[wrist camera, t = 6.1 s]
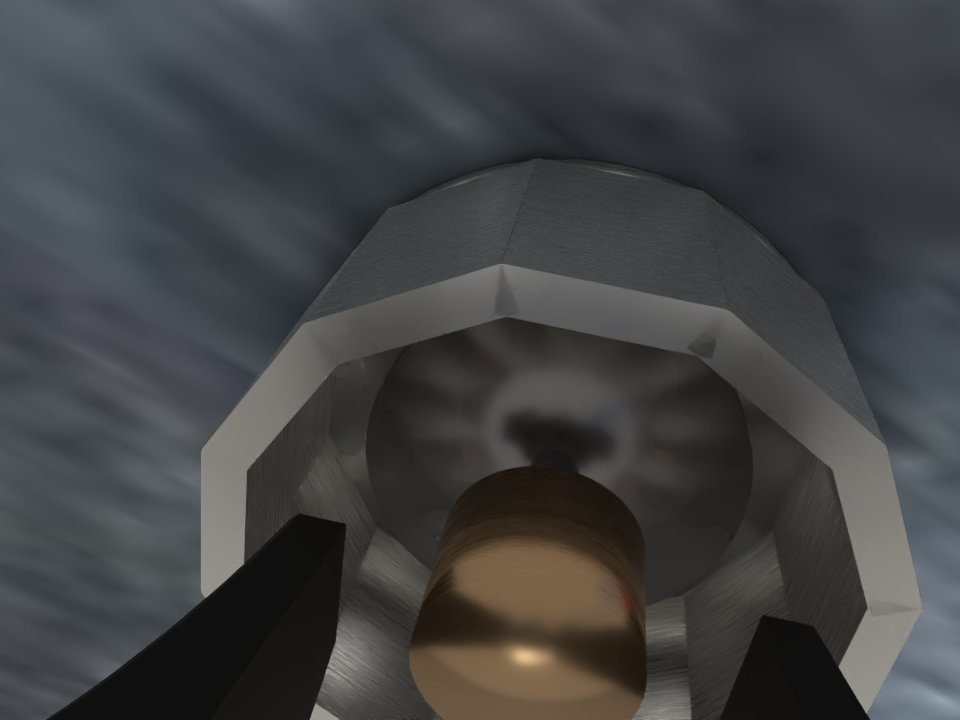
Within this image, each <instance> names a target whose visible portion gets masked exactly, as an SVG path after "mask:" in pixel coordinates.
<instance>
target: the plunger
mask: <svg viewBox="0 0 960 720" xmlns="http://www.w3.org/2000/svg"><path fill="white" fill-rule="evenodd" d="M366 461H367V470H368V476H369V480H370V483H371V487H372V491H373V494H374V496H375V499H376V501H377V503H378V506H379V508H380V510H381V513H382V515H383V516H384V518H385V520H386V521H387V523H388V525H389V526H390V528H391V530H392V531H393V532H394V534H395V535H396V536H397V538H398V539H399V540H400V541H401V543H402V544H403V545H404V547H405V548H406V549H407V550H408V551H409V552H410V553H411V554H412V555H413V556H414V557H415V558H416V559H417V560H418V561H419V562H420V563H421V564H422V565H424V566H425V567H426V568H427V569H429V570H430V571H431V573H430V576H429V580H428V583H427V587H426V590H425V593H424V597H423V600H422V604H421V607H420V610H419V614H418V617H417V621H416V624H415V627H414V631H413V634H412V638H411V642H410V648H409V661H410V669H411V672H412V676H413V679H414V681H415V683H416V685H417V688H418V690H419V691H420V693H421V694H422V696H423V697H424V699H425V700H426V701H427V703H428V704H429V705H430V706H431V707H432V709H433V710H434V711H435V712H437V713H438V714H439V715H440V716H441V717H442V718H443V719H444V720H631V719H632V718H633V717H634V715H635V714H636V712H637V711H638V709H639V707H640V705H641V703H642V701H643V699H644V695H645V691H646V683H647V641H646V606H649V605H652V604H655V603H657V602H659V601H661V600H663V599H665V598H667V597H670V596H672V595H674V594H675V593H677V592H679V591H680V590H682V589H683V588H685V587H686V586H688V585H690V584H691V583H693V582H694V581H695V580H696V579H698V578H699V577H700V576H701V575H702V574H704V573H705V572H706V571H707V570H708V569H710V568H711V566H712V565H713V564H714V563H715V562H716V561H717V560H718V559H719V558H720V557H721V555H722V554H723V553H724V552H725V550H726V549H727V548H728V546H729V545H730V543H731V542H732V540H733V539H734V537H735V536H736V534H737V532H738V530H739V528H740V525H741V523H742V521H743V519H744V517H745V514H746V511H747V507H748V504H749V500H750V497H751V490H752V482H753V453H752V447H751V442H750V437H749V432H748V427H747V422H746V418H745V413H744V409H743V406H742V403H741V401H740V398H739V395H738V393H737V390H736V388H735V387H733V386H732V385H731V384H730V383H729V382H727V381H726V380H725V379H724V378H723V377H721V376H720V375H719V374H718V373H717V372H716V371H714V370H713V369H712V368H711V367H710V366H708V365H707V364H706V363H705V362H704V361H702V360H701V359H700V358H699V357H698V356H694V355H689V354H685V353H680V352H675V351H670V350H665V349H660V348H656V347H651V346H646V345H641V344H636V343H631V342H627V341H622V340H617V339H612V338H607V337H603V336H598V335H593V334H588V333H583V332H578V331H574V330H569V329H564V328H559V327H554V326H549V325H545V324H540V323H535V322H530V321H525V320H521V319H516V318H511V317H503V318H500V319H496V320H493V321H489V322H486V323H482V324H479V325H475V326H472V327H468V328H465V329H461V330H458V331H454V332H451V333H447V334H444V335H440V336H437V337H433V338H430V339H426V340H423V341H419V342H416V343H412V344H409V345H405V346H404V348H403V349H402V350H401V352H400V353H399V354H398V355H397V357H396V359H395V361H394V362H393V364H392V366H391V368H390V370H389V371H388V373H387V375H386V377H385V379H384V381H383V383H382V385H381V387H380V389H379V391H378V393H377V396H376V399H375V401H374V404H373V407H372V410H371V413H370V417H369V422H368V427H367V433H366Z"/></svg>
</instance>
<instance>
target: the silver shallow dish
mask: <svg viewBox="0 0 960 720" xmlns="http://www.w3.org/2000/svg"><path fill="white" fill-rule="evenodd" d="M503 317H511V318H516V319H521V320H525V321H530V322H535V323H540V324H545V325H549V326H554V327H559V328H564V329H569V330H574V331H578V332H583V333H588V334H593V335H598V336H603V337H607V338H612V339H617V340H622V341H627V342H631V343H636V344H641V345H646V346H651V347H656V348H660V349H665V350H670V351H675V352H680V353H685V354H689V355H694V356H698V357H699V358H700V359H701V360H702V361H704V362H705V363H706V364H707V365H708V366H710V367H711V368H712V369H713V370H714V371H716V372H717V373H718V374H719V375H720V376H721V377H723V378H724V379H725V380H726V381H727V382H729V383H730V384H731V385H732V386H733V387H735V388H736V390H737V393H738V395H739V398H740V401H741V403H742V406H743V409H744V413H745V418H746V422H747V427H748V432H749V437H750V442H751V447H752V453H753V482H752V490H751V497H750V500H749V504H748V507H747V511H746V514H745V517H744V519H743V521H742V523H741V525H740V528H739V530H738V532H737V534H736V536H735V537H734V539H733V540H732V542H731V543H730V545H729V546H728V548H727V549H726V550H725V552H724V553H723V554H722V555H721V557H720V558H719V559H718V560H717V561H716V562H715V563H714V564H713V565H712V566H711V568H710V569H708V570H707V571H706V572H705V573H704V574H702V575H701V576H700V577H699V578H698V579H696V580H695V581H694V582H693V583H691V584H690V585H688V586H686V587H685V588H683V589H682V590H680V591H679V592H677V593H675V594H674V595H672V596H670V597H667V598H665V599H663V600H661V601H659V602H657V603H655V604H652V605H649V606H646V641H647V683H646V691H645V695H644V699H643V701H642V703H641V705H640V707H639V709H638V711H637V712H636V714H635V715H634V717H633V718H632V719H631V720H720V717H721V715H722V712H723V710H724V707H725V705H726V702H727V700H728V697H729V695H730V693H731V690H732V688H733V685H734V683H735V680H736V678H737V675H738V673H739V671H740V668H741V666H742V663H743V661H744V658H745V656H746V653H747V651H748V649H749V646H750V644H751V641H752V639H753V636H754V634H755V631H756V629H757V626H758V624H759V622H760V619H761V617H762V615H766V616H771V617H775V618H780V619H784V620H789V621H793V622H798V623H803V624H807V625H812V626H814V628H815V629H816V631H817V632H818V634H819V636H820V637H821V639H822V640H823V642H824V644H825V645H826V647H827V649H828V650H829V652H830V654H831V655H832V657H833V659H834V660H835V662H836V664H837V665H838V667H839V669H840V670H841V672H842V674H843V675H844V677H845V679H846V680H847V682H848V684H849V685H850V687H851V689H852V690H853V692H854V694H855V695H856V697H857V699H858V700H859V702H860V704H861V705H862V707H863V709H864V710H865V712H866V713H867V712H868V711H869V709H870V707H871V705H872V703H873V701H874V699H875V698H876V696H877V694H878V692H879V690H880V688H881V686H882V685H883V683H884V681H885V679H886V677H887V675H888V673H889V672H890V670H891V668H892V666H893V664H894V662H895V660H896V659H897V657H898V655H899V653H900V651H901V649H902V647H903V646H904V644H905V642H906V640H907V638H908V636H909V634H910V633H911V631H912V629H913V627H914V625H915V623H916V621H917V620H918V618H919V616H920V614H921V612H922V610H923V607H922V603H921V598H920V594H919V589H918V585H917V580H916V576H915V571H914V567H913V562H912V558H911V553H910V549H909V544H908V540H907V535H906V531H905V527H904V522H903V518H902V513H901V509H900V504H899V500H898V495H897V491H896V486H895V482H894V477H893V473H892V468H891V464H890V460H889V455H888V451H887V446H886V444H885V442H884V439H883V437H882V435H881V432H880V430H879V428H878V425H877V423H876V421H875V418H874V416H873V414H872V411H871V409H870V407H869V404H868V402H867V400H866V397H865V395H864V393H863V390H862V388H861V386H860V383H859V381H858V379H857V376H856V374H855V372H854V369H853V367H852V365H851V362H850V360H849V358H848V355H847V353H846V351H845V348H844V346H843V344H842V341H841V339H840V337H839V334H838V332H837V330H836V327H835V325H834V323H833V320H832V318H831V316H830V313H829V311H828V309H827V306H826V304H825V302H824V299H823V297H822V295H820V294H819V293H818V292H817V291H816V290H815V289H814V288H813V287H811V286H810V285H809V284H808V283H807V282H806V281H805V280H804V279H802V278H801V277H800V276H799V275H798V274H797V273H796V272H795V271H794V269H793V268H792V267H791V265H790V264H789V263H788V261H787V260H786V258H785V257H784V256H783V255H782V254H781V253H780V252H779V251H778V250H777V249H776V248H775V247H774V246H773V245H772V244H771V243H770V242H769V241H768V240H767V239H766V238H765V237H764V236H763V235H762V234H761V233H760V232H759V231H758V230H756V229H755V228H754V227H753V226H751V225H750V224H749V223H747V222H746V221H745V220H744V219H742V218H741V217H740V216H738V215H737V214H736V213H735V212H733V211H732V210H731V209H729V208H727V207H726V206H724V205H722V204H720V203H719V202H717V201H715V200H714V199H713V198H711V197H710V196H709V195H708V194H707V193H706V192H705V191H703V190H698V189H694V188H691V187H689V186H686V185H684V184H681V183H679V182H676V181H674V180H672V179H669V178H667V177H664V176H662V175H659V174H655V173H652V172H648V171H644V170H640V169H636V168H633V167H629V166H625V165H621V164H614V163H606V162H599V161H591V160H583V159H540V158H538V159H537V158H536V159H533V160H530V161H524V162H516V163H508V164H502V165H498V166H494V167H491V168H487V169H483V170H479V171H476V172H472V173H468V174H465V175H463V176H460V177H458V178H455V179H453V180H451V181H448V182H446V183H443V184H441V185H439V186H436V187H434V188H432V189H430V190H428V191H427V192H425V193H423V194H421V195H420V196H418V197H416V198H415V199H413V200H411V201H408V202H405V203H402V204H400V205H397V206H394V207H391V208H388V209H387V210H386V211H385V213H384V214H383V215H382V216H381V218H380V219H379V220H378V221H377V223H376V224H375V225H374V226H373V228H372V229H371V230H370V231H369V233H368V234H367V235H366V236H365V238H364V239H363V240H362V241H361V242H360V244H359V245H358V246H357V247H356V248H355V249H354V251H353V252H352V253H351V254H350V256H349V257H348V258H347V260H346V261H345V262H344V264H343V265H342V266H341V267H340V269H339V270H338V271H337V272H336V274H335V275H334V276H333V277H332V279H331V280H330V281H329V282H328V284H327V285H326V286H325V287H324V289H323V290H322V291H321V292H320V294H319V295H318V296H317V297H316V299H315V300H314V301H313V302H312V304H311V305H310V306H309V307H308V309H307V310H306V311H305V312H304V314H303V315H302V316H301V318H300V319H299V320H298V322H297V323H296V324H295V326H294V327H293V328H292V330H291V331H290V332H289V334H288V335H287V336H286V338H285V339H284V340H283V342H282V343H281V344H280V346H279V347H278V348H277V350H276V351H275V352H274V354H273V355H272V356H271V358H270V359H269V360H268V362H267V363H266V364H265V366H264V367H263V368H262V370H261V371H260V372H259V374H258V375H257V376H256V378H255V379H254V380H253V382H252V383H251V384H250V386H249V387H248V388H247V390H246V391H245V392H244V394H243V395H242V396H241V398H240V399H239V400H238V402H237V403H236V404H235V406H234V407H233V408H232V410H231V411H230V412H229V414H228V415H227V416H226V418H225V419H224V420H223V422H222V423H221V424H220V426H219V427H218V428H217V430H216V431H215V432H214V434H213V435H212V436H211V438H210V439H209V440H208V442H207V443H206V444H205V446H204V447H203V448H202V450H201V592H202V594H203V595H204V597H205V598H206V597H207V596H209V595H210V594H211V593H212V592H213V591H214V590H216V589H217V588H218V587H219V586H220V585H221V584H222V583H224V582H225V581H226V580H227V579H228V578H229V577H230V576H231V575H232V574H233V573H234V572H236V571H237V570H238V569H239V568H240V567H241V566H242V565H243V564H244V563H245V562H246V561H247V560H249V559H250V558H251V557H252V556H253V555H254V554H255V553H256V552H257V551H258V550H259V549H260V548H261V547H262V546H263V545H264V544H265V543H266V542H267V541H268V540H269V539H270V538H271V537H272V536H273V535H274V534H275V533H276V532H277V531H278V530H279V529H280V528H281V527H282V526H283V525H284V524H285V523H286V522H287V521H288V520H289V519H290V518H292V517H294V516H296V515H297V514H304V515H309V516H313V517H318V518H322V519H327V520H331V521H336V522H341V523H345V524H346V535H345V546H344V557H343V569H342V580H341V591H340V602H339V613H338V624H337V635H336V643H335V646H334V649H333V652H332V655H331V658H330V661H329V664H328V667H327V670H326V673H325V676H324V679H323V682H322V685H321V688H320V691H319V694H318V697H317V700H316V703H315V706H314V709H313V712H312V715H311V718H310V720H444V719H443V718H442V717H441V716H440V715H439V714H438V713H437V712H435V711H434V710H433V709H432V707H431V706H430V705H429V704H428V703H427V701H426V700H425V699H424V697H423V696H422V694H421V693H420V691H419V690H418V688H417V685H416V683H415V681H414V679H413V676H412V672H411V669H410V661H409V648H410V642H411V638H412V634H413V631H414V627H415V624H416V621H417V617H418V614H419V610H420V607H421V604H422V600H423V597H424V593H425V590H426V587H427V583H428V580H429V576H430V573H431V571H430V570H429V569H427V568H426V567H425V566H424V565H422V564H421V563H420V562H419V561H418V560H417V559H416V558H415V557H414V556H413V555H412V554H411V553H410V552H409V551H408V550H407V549H406V548H405V547H404V545H403V544H402V543H401V541H400V540H399V539H398V538H397V536H396V535H395V534H394V532H393V531H392V530H391V528H390V526H389V525H388V523H387V521H386V520H385V518H384V516H383V515H382V513H381V510H380V508H379V506H378V503H377V501H376V499H375V496H374V494H373V491H372V487H371V483H370V480H369V476H368V470H367V461H366V433H367V427H368V422H369V417H370V413H371V410H372V407H373V404H374V401H375V399H376V396H377V393H378V391H379V389H380V387H381V385H382V383H383V381H384V379H385V377H386V375H387V373H388V371H389V370H390V368H391V366H392V364H393V362H394V361H395V359H396V357H397V355H398V354H399V353H400V352H401V350H402V349H403V348H404V346H405V345H409V344H412V343H416V342H419V341H423V340H426V339H430V338H433V337H437V336H440V335H444V334H447V333H451V332H454V331H458V330H461V329H465V328H468V327H472V326H475V325H479V324H482V323H486V322H489V321H493V320H496V319H500V318H503Z"/></svg>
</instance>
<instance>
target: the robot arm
mask: <svg viewBox="0 0 960 720" xmlns="http://www.w3.org/2000/svg"><path fill="white" fill-rule="evenodd" d="M345 535H346V524H345V523H341V522H336V521H331V520H327V519H322V518H318V517H313V516H309V515H304V514H297V515H296V516H294V517H292V518H290V519H289V520H288V521H287V522H286V523H285V524H284V525H283V526H282V527H281V528H280V529H279V530H278V531H277V532H276V533H275V534H274V535H273V536H272V537H271V538H270V539H269V540H268V541H267V542H266V543H265V544H264V545H263V546H262V547H261V548H260V549H259V550H258V551H257V552H256V553H255V554H254V555H253V556H252V557H251V558H250V559H249V560H247V561H246V562H245V563H244V564H243V565H242V566H241V567H240V568H239V569H238V570H237V571H236V572H234V573H233V574H232V575H231V576H230V577H229V578H228V579H227V580H226V581H225V582H224V583H222V584H221V585H220V586H219V587H218V588H217V589H216V590H214V591H213V592H212V593H211V594H210V595H209V596H207V597H206V598H205V599H204V600H203V601H202V602H201V603H199V604H198V605H197V606H196V607H195V608H194V609H192V610H191V611H190V612H189V613H188V614H187V615H185V616H184V617H183V618H182V619H181V620H180V621H178V622H177V623H176V624H175V625H174V626H172V627H171V628H170V629H169V630H168V631H166V632H165V633H164V634H163V635H161V636H160V637H159V638H157V639H156V640H155V641H154V642H152V643H151V644H150V645H148V646H147V647H146V648H145V649H143V650H142V651H141V652H139V653H138V654H137V655H136V656H134V657H133V658H132V659H130V660H129V661H128V662H127V663H125V664H124V665H123V666H121V667H120V668H119V669H118V670H116V671H115V672H114V673H112V674H111V675H110V676H108V677H107V678H106V679H104V680H103V681H101V682H100V683H99V684H97V685H96V686H94V687H93V688H92V689H90V690H89V691H87V692H86V693H85V694H83V695H82V696H80V697H79V698H77V699H76V700H75V701H73V702H72V703H70V704H69V705H67V706H66V707H64V708H63V709H61V710H60V711H58V712H57V713H55V714H54V715H52V716H51V717H49V718H48V719H46V720H310V718H311V715H312V712H313V709H314V706H315V703H316V700H317V697H318V694H319V691H320V688H321V685H322V682H323V679H324V676H325V673H326V670H327V667H328V664H329V661H330V658H331V655H332V652H333V649H334V646H335V643H336V635H337V624H338V613H339V602H340V591H341V580H342V569H343V557H344V546H345ZM720 720H870V718H869V717H868V715H867V713H866V712H865V710H864V709H863V707H862V705H861V704H860V702H859V700H858V699H857V697H856V695H855V694H854V692H853V690H852V689H851V687H850V685H849V684H848V682H847V680H846V679H845V677H844V675H843V674H842V672H841V670H840V669H839V667H838V665H837V664H836V662H835V660H834V659H833V657H832V655H831V654H830V652H829V650H828V649H827V647H826V645H825V644H824V642H823V640H822V639H821V637H820V636H819V634H818V632H817V631H816V629H815V628H814V626H812V625H807V624H803V623H798V622H793V621H789V620H784V619H780V618H775V617H771V616H766V615H762V617H761V619H760V622H759V624H758V626H757V629H756V631H755V634H754V636H753V639H752V641H751V644H750V646H749V649H748V651H747V653H746V656H745V658H744V661H743V663H742V666H741V668H740V671H739V673H738V675H737V678H736V680H735V683H734V685H733V688H732V690H731V693H730V695H729V697H728V700H727V702H726V705H725V707H724V710H723V712H722V715H721V717H720Z"/></svg>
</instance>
